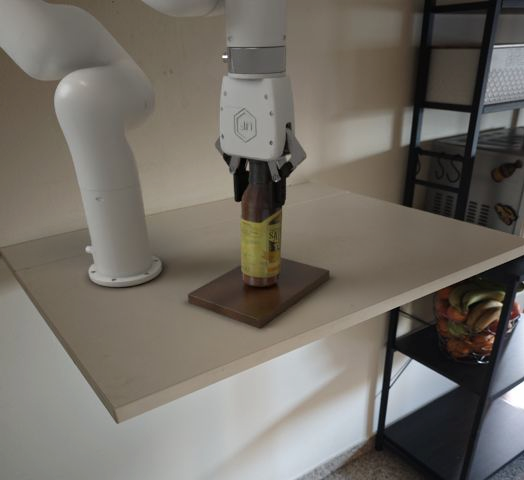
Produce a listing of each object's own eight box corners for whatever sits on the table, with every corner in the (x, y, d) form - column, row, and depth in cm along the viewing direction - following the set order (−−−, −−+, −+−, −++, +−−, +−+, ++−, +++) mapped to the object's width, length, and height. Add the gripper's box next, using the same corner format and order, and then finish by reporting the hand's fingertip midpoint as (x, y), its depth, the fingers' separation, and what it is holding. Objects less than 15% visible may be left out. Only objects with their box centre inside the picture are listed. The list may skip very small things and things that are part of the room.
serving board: (188, 302, 79) (187, 293, 78) (263, 260, 92) (263, 252, 91) (259, 328, 72) (259, 319, 71) (329, 278, 85) (329, 270, 84)
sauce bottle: (275, 290, 78) (279, 158, 66) (237, 286, 79) (233, 155, 67) (283, 273, 83) (287, 147, 72) (247, 269, 84) (245, 144, 73)
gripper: (187, 63, 66) (199, 200, 76) (297, 67, 57) (294, 221, 67) (224, 59, 71) (230, 188, 81) (329, 63, 62) (322, 206, 72)
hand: (259, 202), depth 74 cm, fingers closed on sauce bottle, 5 cm apart
